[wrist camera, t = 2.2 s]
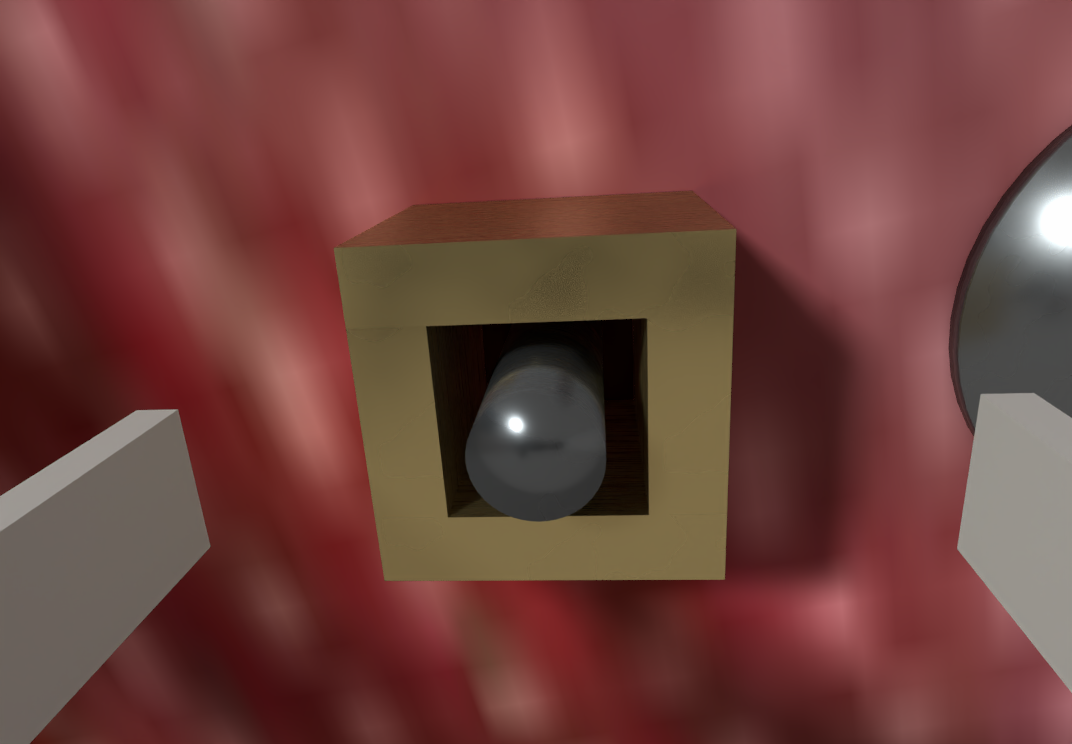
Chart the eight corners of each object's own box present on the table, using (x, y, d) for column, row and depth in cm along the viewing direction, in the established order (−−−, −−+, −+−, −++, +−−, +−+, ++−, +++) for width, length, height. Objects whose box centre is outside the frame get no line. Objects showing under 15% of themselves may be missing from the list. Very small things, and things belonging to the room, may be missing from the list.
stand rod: (515, 376, 20) (471, 522, 13) (509, 289, 19) (458, 396, 12) (603, 373, 20) (608, 521, 13) (600, 286, 19) (604, 392, 12)
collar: (441, 453, 21) (384, 580, 15) (413, 205, 19) (333, 247, 13) (688, 448, 20) (724, 579, 15) (692, 190, 18) (736, 229, 12)
